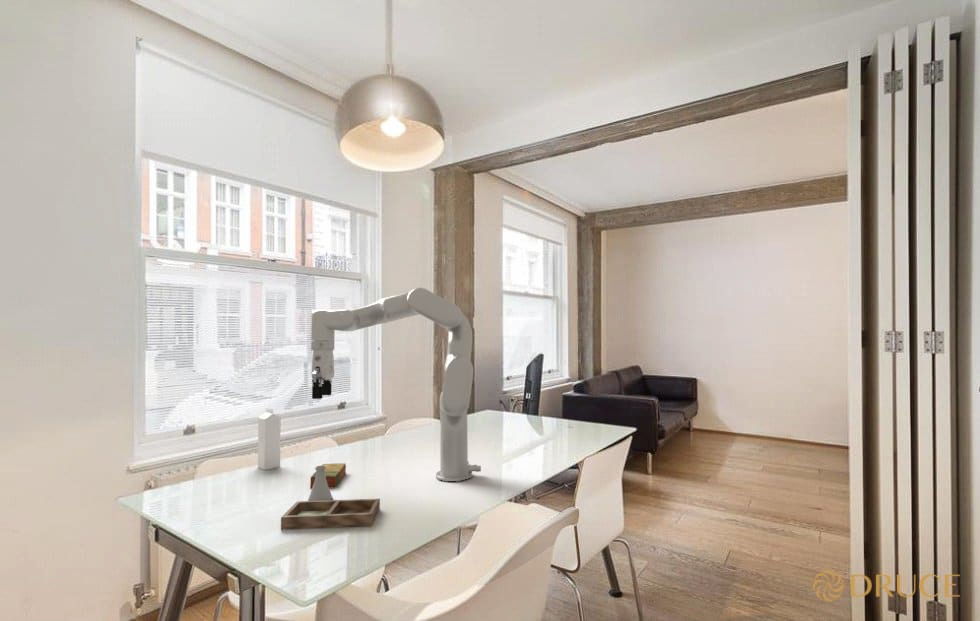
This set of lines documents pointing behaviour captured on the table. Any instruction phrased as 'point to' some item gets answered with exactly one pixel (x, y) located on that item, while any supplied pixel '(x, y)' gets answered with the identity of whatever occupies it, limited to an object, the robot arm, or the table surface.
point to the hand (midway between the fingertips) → (322, 396)
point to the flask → (320, 486)
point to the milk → (269, 440)
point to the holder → (331, 514)
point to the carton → (332, 474)
